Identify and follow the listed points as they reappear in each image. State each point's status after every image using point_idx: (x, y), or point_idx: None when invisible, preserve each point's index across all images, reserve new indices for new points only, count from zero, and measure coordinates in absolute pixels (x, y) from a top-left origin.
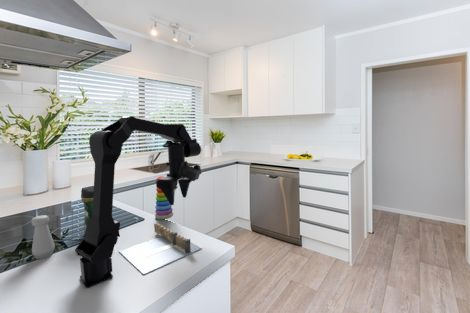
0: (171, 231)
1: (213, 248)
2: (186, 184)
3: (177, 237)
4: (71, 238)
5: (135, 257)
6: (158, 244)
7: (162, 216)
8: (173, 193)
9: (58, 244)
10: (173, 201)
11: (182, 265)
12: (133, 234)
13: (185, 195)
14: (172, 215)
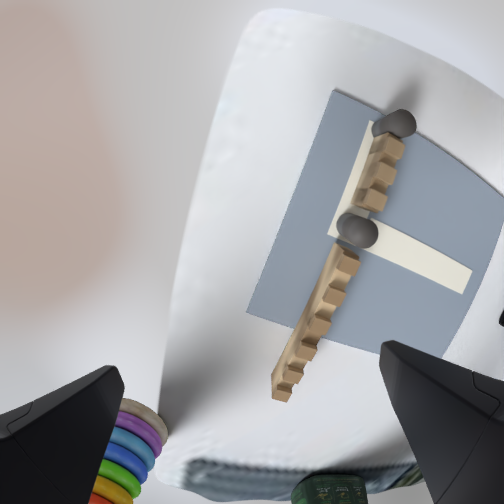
0: (345, 268)
1: (304, 51)
2: (22, 453)
3: (386, 197)
4: (372, 490)
5: (461, 293)
6: (373, 290)
7: (156, 424)
8: (498, 393)
9: (401, 482)
10: (413, 352)
11: (447, 113)
12: (315, 423)
13: (106, 377)
14: None
